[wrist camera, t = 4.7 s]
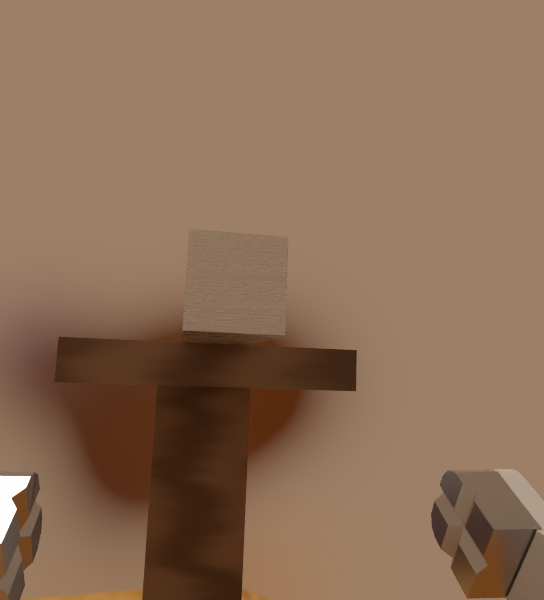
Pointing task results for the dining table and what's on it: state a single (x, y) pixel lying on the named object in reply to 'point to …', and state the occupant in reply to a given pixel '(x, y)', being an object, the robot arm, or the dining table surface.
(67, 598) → the dining table surface
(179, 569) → the mount stand
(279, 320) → the grey square bar
